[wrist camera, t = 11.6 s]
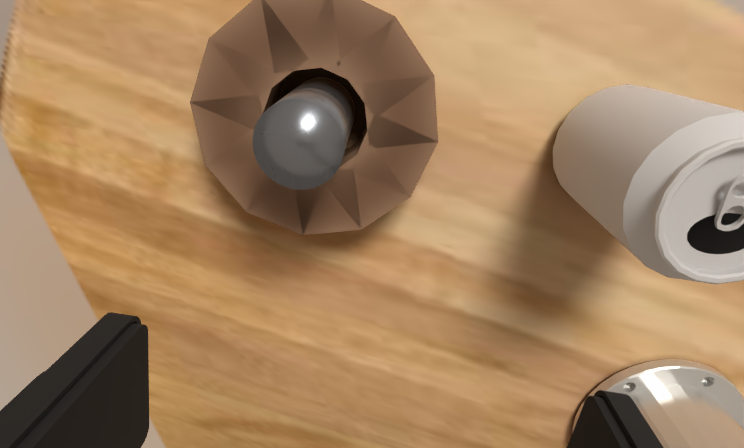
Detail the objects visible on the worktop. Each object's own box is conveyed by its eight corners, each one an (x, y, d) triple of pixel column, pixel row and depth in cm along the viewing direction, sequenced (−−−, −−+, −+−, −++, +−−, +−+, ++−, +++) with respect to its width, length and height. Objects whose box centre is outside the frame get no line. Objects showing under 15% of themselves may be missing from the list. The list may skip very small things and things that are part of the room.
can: (540, 203, 32) (625, 300, 21) (556, 82, 29) (664, 121, 18) (658, 202, 32) (808, 300, 20) (685, 81, 29) (876, 119, 18)
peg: (368, 118, 30) (362, 156, 22) (316, 156, 31) (292, 206, 23) (327, 63, 29) (304, 79, 20) (275, 104, 30) (233, 135, 21)
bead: (471, 135, 30) (482, 148, 27) (306, 247, 33) (298, 271, 30) (342, -61, 26) (336, -73, 23) (169, 86, 29) (143, 94, 26)
